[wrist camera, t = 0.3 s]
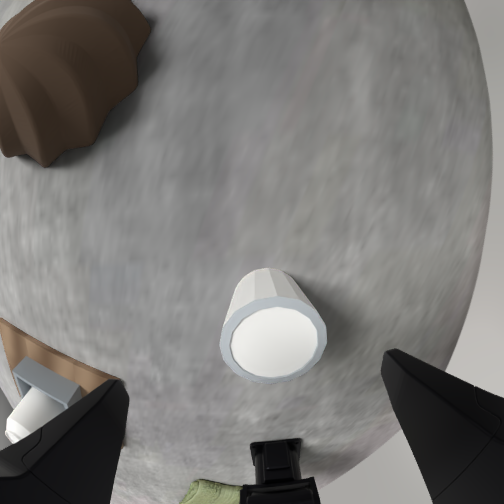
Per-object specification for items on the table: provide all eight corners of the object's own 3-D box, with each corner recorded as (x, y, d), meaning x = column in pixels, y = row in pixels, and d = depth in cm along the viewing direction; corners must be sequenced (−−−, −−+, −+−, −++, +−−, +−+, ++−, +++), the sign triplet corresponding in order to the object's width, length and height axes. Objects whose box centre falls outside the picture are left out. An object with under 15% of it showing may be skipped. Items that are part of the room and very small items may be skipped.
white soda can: (64, 374, 26) (20, 436, 14) (83, 408, 27) (50, 469, 16) (35, 369, 26) (-8, 421, 14) (54, 401, 27) (20, 454, 16)
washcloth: (177, 500, 36) (175, 511, 33) (194, 474, 32) (192, 489, 29) (237, 511, 38) (237, 522, 35) (269, 485, 34) (270, 499, 30)
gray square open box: (82, 381, 26) (67, 403, 21) (89, 421, 28) (78, 441, 24) (29, 352, 25) (12, 370, 21) (40, 395, 27) (28, 413, 23)
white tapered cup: (309, 260, 22) (335, 296, 15) (302, 332, 24) (319, 382, 17) (225, 259, 22) (217, 296, 15) (227, 332, 24) (221, 384, 17)
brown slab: (119, 378, 25) (117, 383, 25) (123, 445, 29) (122, 449, 29) (0, 317, 24) (-3, 319, 23) (22, 393, 28) (20, 396, 27)
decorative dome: (-7, 169, 19) (-68, 177, 9) (34, 19, 14) (-12, -6, 4) (123, 170, 20) (47, 172, 10) (173, -16, 15) (147, -78, 5)
